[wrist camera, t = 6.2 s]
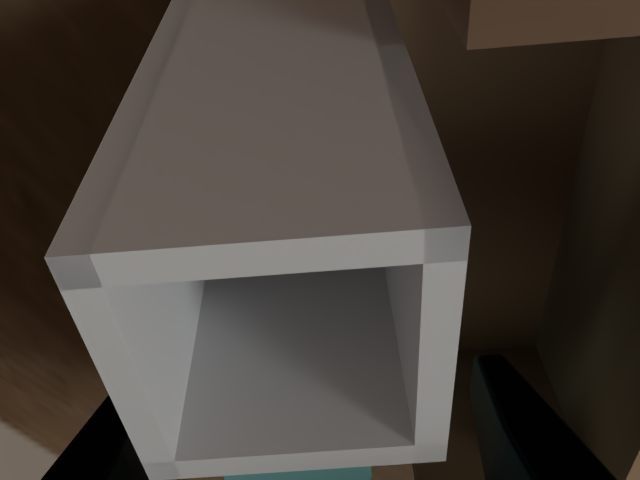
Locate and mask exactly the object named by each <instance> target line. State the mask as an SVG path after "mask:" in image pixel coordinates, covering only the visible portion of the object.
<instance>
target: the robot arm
mask: <svg viewBox="0 0 640 480" xmlns="http://www.w3.org/2000/svg"><path fill="white" fill-rule="evenodd" d="M470 400H471V406H472V411H473V417H474V422H475V428H476V433H477V439H478V444H479V450H480V455H481V461H482V466H483V472H484V477H485V480H618V479H617V478H616V477H615V476H614V475H613V474H612V473H611V472H610V471H609V469H608V468H607V467H606V466H605V465H604V464H603V463H602V462H601V461H600V460H599V459H598V458H597V456H596V455H595V454H594V453H593V452H592V451H591V450H590V449H589V448H588V447H587V446H586V445H585V443H584V442H583V441H582V440H581V439H580V438H579V437H578V436H577V435H576V434H575V433H574V432H573V430H572V429H571V428H570V427H569V426H568V425H567V424H566V423H565V422H564V421H563V420H562V418H561V417H560V416H559V415H558V414H557V413H556V412H555V411H554V410H553V409H552V408H551V407H550V405H549V404H548V403H547V402H546V401H545V400H544V399H543V398H542V397H541V396H540V395H539V394H538V392H537V391H536V390H535V389H534V388H533V387H532V386H531V385H530V384H529V383H528V382H527V380H526V379H525V378H524V377H523V376H522V375H521V374H520V373H519V372H518V371H517V370H516V369H515V367H514V366H513V365H512V364H511V363H510V362H509V361H508V360H507V359H506V358H505V357H504V356H503V355H501V354H499V353H492V354H479V355H476V356H475V358H474V360H473V367H472V374H471V382H470ZM41 480H149V478H148V476H147V474H146V472H145V470H144V468H143V465H142V463H141V461H140V459H139V457H138V455H137V453H136V451H135V449H134V446H133V444H132V442H131V440H130V438H129V436H128V434H127V432H126V430H125V427H124V425H123V423H122V421H121V419H120V417H119V415H118V413H117V411H116V408H115V406H114V404H113V402H112V400H111V398H110V396H109V395H108V396H107V398H106V399H105V400H104V401H103V403H102V404H101V405H100V406H99V408H98V409H97V410H96V411H95V413H94V414H93V415H92V416H91V418H90V419H89V420H88V421H87V423H86V424H85V425H84V426H83V428H82V429H81V430H80V431H79V433H78V434H77V435H76V436H75V438H74V439H73V440H72V441H71V443H70V444H69V445H68V446H67V448H66V449H65V450H64V451H63V453H62V454H61V455H60V456H59V458H58V459H57V460H56V461H55V463H54V464H53V465H52V466H51V468H50V469H49V470H48V471H47V473H46V474H45V475H44V476H43V478H42V479H41Z"/></svg>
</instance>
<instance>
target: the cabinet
mask: <svg viewBox="0 0 640 480" xmlns="http://www.w3.org/2000/svg"><path fill="white" fill-rule="evenodd" d="M389 2H390V4H391V7H392V10H393V13H394V15H395V18H396V21H397V23H398V26H399V29H400V32H401V34H402V37H403V40H404V43H405V45H406V48H407V51H408V54H409V56H410V59H411V62H412V65H413V67H414V70H415V73H416V75H417V78H418V81H419V84H420V86H421V89H422V92H423V95H424V97H425V100H426V103H427V106H428V108H429V111H430V114H431V117H432V119H433V122H434V125H435V127H436V130H437V133H438V136H439V138H440V141H441V144H442V147H443V149H444V152H445V155H446V158H447V160H448V163H449V166H450V169H451V171H452V174H453V177H454V179H455V182H456V185H457V188H458V190H459V193H460V196H461V199H462V201H463V204H464V207H465V210H466V212H467V215H468V218H469V221H470V223H471V234H470V243H469V253H468V262H467V271H466V280H465V289H464V299H463V308H462V317H461V326H460V336H459V345H458V354H457V363H456V372H455V382H454V391H453V400H452V409H451V419H450V428H449V437H448V446H447V455H446V461H441V462H426V463H412V465H413V471H414V478H415V480H485V477H484V472H483V466H482V461H481V455H480V450H479V444H478V439H477V433H476V428H475V422H474V417H473V411H472V406H471V400H470V382H471V374H472V367H473V360H474V358H475V356H476V355H479V354H492V353H499V354H501V355H503V356H504V357H505V358H506V359H507V360H508V361H509V362H510V363H511V364H512V365H513V366H514V367H515V369H516V370H517V371H518V372H519V373H520V374H521V375H522V376H523V377H524V378H525V379H526V380H527V382H528V383H529V384H530V385H531V386H532V387H533V388H534V389H535V390H536V391H537V392H538V394H539V395H540V396H541V397H542V398H543V399H544V400H545V401H546V402H547V403H548V404H549V405H550V407H551V408H552V409H553V410H554V411H555V412H556V413H557V414H558V415H559V416H560V417H561V418H562V420H563V421H564V422H565V423H566V424H567V425H568V426H569V427H570V428H571V429H572V430H573V432H574V433H575V434H576V435H577V436H578V437H579V438H580V439H581V440H582V441H583V442H584V443H585V445H586V446H587V447H588V448H589V449H590V450H591V451H592V452H593V453H594V454H595V455H596V456H597V458H598V459H599V460H600V461H601V462H602V463H603V464H604V465H605V466H606V467H607V468H608V469H609V471H610V472H611V473H612V474H613V475H614V476H615V477H616V478H617V479H618V480H640V0H389Z"/></svg>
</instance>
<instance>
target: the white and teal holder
mask: <svg viewBox="0 0 640 480" xmlns="http://www.w3.org/2000/svg"><path fill="white" fill-rule="evenodd" d="M470 234H471V223H470V221H469V218H468V215H467V212H466V210H465V207H464V204H463V201H462V199H461V196H460V193H459V190H458V188H457V185H456V182H455V179H454V177H453V174H452V171H451V169H450V166H449V163H448V160H447V158H446V155H445V152H444V149H443V147H442V144H441V141H440V138H439V136H438V133H437V130H436V127H435V125H434V122H433V119H432V117H431V114H430V111H429V108H428V106H427V103H426V100H425V97H424V95H423V92H422V89H421V86H420V84H419V81H418V78H417V75H416V73H415V70H414V67H413V65H412V62H411V59H410V56H409V54H408V51H407V48H406V45H405V43H404V40H403V37H402V34H401V32H400V29H399V26H398V23H397V21H396V18H395V15H394V13H393V10H392V7H391V4H390V2H389V0H171V2H170V4H169V6H168V8H167V10H166V12H165V14H164V16H163V18H162V20H161V22H160V24H159V26H158V28H157V30H156V32H155V34H154V36H153V38H152V40H151V42H150V44H149V46H148V48H147V51H146V53H145V55H144V57H143V59H142V61H141V63H140V65H139V67H138V69H137V71H136V73H135V75H134V77H133V79H132V81H131V83H130V85H129V87H128V89H127V91H126V93H125V95H124V97H123V99H122V101H121V103H120V105H119V107H118V109H117V111H116V113H115V115H114V117H113V119H112V121H111V123H110V125H109V127H108V129H107V131H106V133H105V135H104V137H103V140H102V142H101V144H100V146H99V148H98V150H97V152H96V154H95V156H94V158H93V160H92V162H91V164H90V166H89V168H88V170H87V172H86V174H85V176H84V178H83V180H82V182H81V184H80V186H79V188H78V190H77V192H76V194H75V196H74V198H73V200H72V202H71V204H70V206H69V208H68V210H67V212H66V214H65V216H64V218H63V220H62V222H61V224H60V226H59V229H58V231H57V233H56V235H55V237H54V239H53V241H52V243H51V245H50V247H49V249H48V251H47V253H46V255H45V257H44V259H45V261H46V263H47V265H48V267H49V269H50V271H51V273H52V275H53V278H54V280H55V282H56V284H57V286H58V288H59V290H60V292H61V294H62V297H63V299H64V301H65V303H66V305H67V307H68V309H69V311H70V313H71V316H72V318H73V320H74V322H75V324H76V326H77V328H78V330H79V332H80V335H81V337H82V339H83V341H84V343H85V345H86V347H87V349H88V351H89V354H90V356H91V358H92V360H93V362H94V364H95V366H96V368H97V370H98V373H99V375H100V377H101V379H102V381H103V383H104V385H105V387H106V389H107V392H108V394H109V396H110V398H111V400H112V402H113V404H114V406H115V408H116V411H117V413H118V415H119V417H120V419H121V421H122V423H123V425H124V427H125V430H126V432H127V434H128V436H129V438H130V440H131V442H132V444H133V446H134V449H135V451H136V453H137V455H138V457H139V459H140V461H141V463H142V465H143V468H144V470H145V472H146V474H147V476H148V478H149V480H170V479H185V478H200V477H215V476H223V477H224V480H372V473H371V466H381V465H396V464H411V463H426V462H441V461H446V455H447V446H448V437H449V428H450V419H451V409H452V400H453V391H454V382H455V372H456V363H457V354H458V345H459V336H460V326H461V317H462V308H463V299H464V289H465V280H466V271H467V262H468V253H469V243H470Z"/></svg>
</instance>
